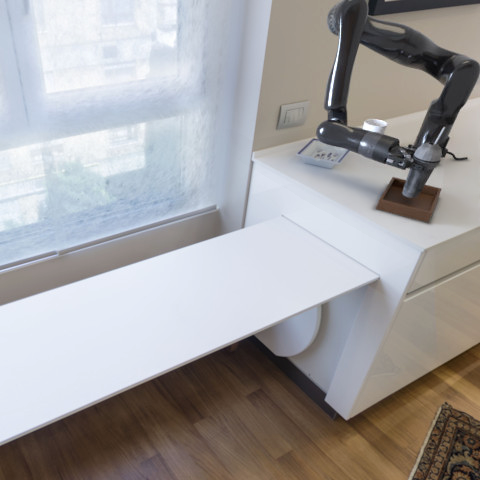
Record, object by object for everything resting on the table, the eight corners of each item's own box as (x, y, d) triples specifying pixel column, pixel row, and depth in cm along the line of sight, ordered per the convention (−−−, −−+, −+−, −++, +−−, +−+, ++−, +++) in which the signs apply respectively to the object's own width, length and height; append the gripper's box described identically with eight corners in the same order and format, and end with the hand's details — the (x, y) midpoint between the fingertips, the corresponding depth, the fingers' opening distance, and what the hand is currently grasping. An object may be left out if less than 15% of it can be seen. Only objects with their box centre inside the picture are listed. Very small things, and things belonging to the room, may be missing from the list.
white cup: (355, 152, 164) (364, 124, 157) (356, 144, 169) (365, 117, 162) (377, 155, 162) (387, 127, 155) (378, 148, 167) (387, 120, 160)
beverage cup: (392, 189, 136) (421, 122, 122) (415, 188, 136) (445, 122, 122) (404, 200, 130) (435, 132, 117) (427, 200, 131) (460, 131, 117)
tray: (389, 185, 144) (392, 176, 142) (437, 197, 138) (441, 188, 136) (375, 208, 132) (379, 199, 130) (427, 222, 126) (432, 213, 124)
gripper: (370, 140, 128) (426, 158, 119) (394, 129, 135) (448, 146, 126) (362, 165, 133) (415, 184, 124) (385, 153, 140) (436, 170, 131)
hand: (431, 165), depth 125 cm, fingers closed on beverage cup, 7 cm apart
